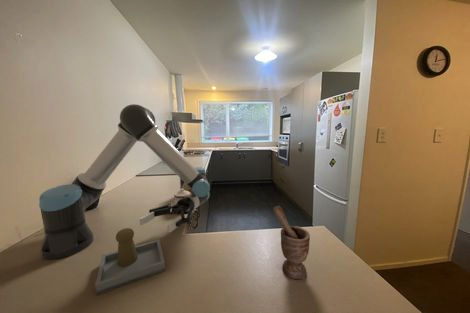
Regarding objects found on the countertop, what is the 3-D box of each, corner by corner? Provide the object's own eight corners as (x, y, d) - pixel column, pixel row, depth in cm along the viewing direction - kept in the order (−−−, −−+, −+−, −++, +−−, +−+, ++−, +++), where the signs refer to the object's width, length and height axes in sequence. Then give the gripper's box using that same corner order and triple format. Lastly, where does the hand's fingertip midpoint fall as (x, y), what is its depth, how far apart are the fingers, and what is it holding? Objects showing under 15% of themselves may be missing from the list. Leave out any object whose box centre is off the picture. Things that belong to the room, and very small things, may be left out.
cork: (133, 252, 67) (130, 223, 65) (140, 259, 63) (138, 229, 61) (114, 261, 62) (111, 231, 61) (121, 269, 58) (117, 237, 57)
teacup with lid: (186, 212, 100) (185, 192, 98) (171, 211, 102) (170, 191, 100) (196, 204, 111) (195, 185, 110) (182, 202, 114) (181, 184, 112)
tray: (96, 295, 51) (95, 285, 50) (103, 263, 63) (102, 255, 62) (165, 270, 59) (164, 262, 59) (159, 246, 71) (159, 239, 71)
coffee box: (181, 198, 121) (180, 174, 119) (180, 194, 127) (179, 172, 125) (195, 196, 125) (194, 173, 122) (193, 193, 131) (192, 171, 128)
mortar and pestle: (267, 273, 58) (268, 213, 55) (273, 255, 66) (274, 202, 63) (307, 284, 53) (310, 220, 50) (308, 264, 61) (311, 207, 58)
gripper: (211, 215, 84) (182, 241, 65) (167, 207, 93) (130, 228, 74) (210, 200, 83) (181, 222, 64) (166, 193, 92) (129, 210, 72)
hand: (154, 225), depth 69 cm, fingers open, 13 cm apart
